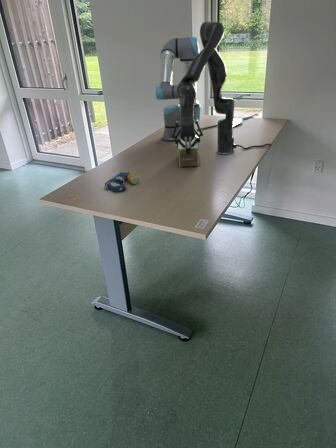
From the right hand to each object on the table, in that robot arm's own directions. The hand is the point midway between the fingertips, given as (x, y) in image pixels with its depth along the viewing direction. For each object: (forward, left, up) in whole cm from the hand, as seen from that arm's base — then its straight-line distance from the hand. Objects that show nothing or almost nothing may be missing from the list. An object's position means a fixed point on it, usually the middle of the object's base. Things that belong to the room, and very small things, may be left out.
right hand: (188, 154), depth 190 cm
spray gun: (+40, 0, -9) cm, 41 cm away
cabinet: (-6, -13, -9) cm, 17 cm away
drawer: (-3, -8, -8) cm, 12 cm away
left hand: (-8, -17, -3) cm, 19 cm away
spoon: (-66, -60, -9) cm, 89 cm away
